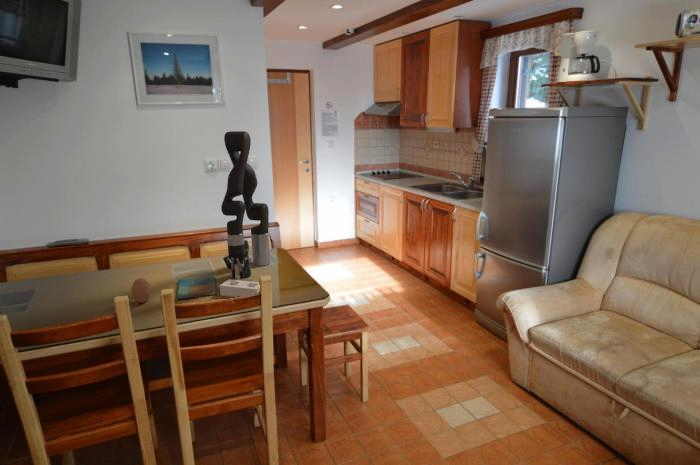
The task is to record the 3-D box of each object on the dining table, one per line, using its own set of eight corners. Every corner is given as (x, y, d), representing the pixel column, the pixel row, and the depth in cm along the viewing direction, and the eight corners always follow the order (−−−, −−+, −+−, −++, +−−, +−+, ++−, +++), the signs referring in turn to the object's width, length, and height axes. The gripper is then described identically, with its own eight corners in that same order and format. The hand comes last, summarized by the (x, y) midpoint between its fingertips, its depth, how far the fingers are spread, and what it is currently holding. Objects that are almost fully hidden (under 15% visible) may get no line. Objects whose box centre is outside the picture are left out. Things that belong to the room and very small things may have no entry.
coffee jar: (251, 273, 221) (249, 238, 217) (250, 278, 214) (248, 242, 209) (232, 274, 220) (229, 239, 215) (230, 279, 212) (227, 243, 207)
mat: (234, 279, 212) (234, 278, 212) (253, 281, 210) (253, 280, 210) (224, 287, 203) (223, 286, 203) (243, 289, 200) (243, 288, 200)
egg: (130, 302, 186) (127, 278, 184) (148, 297, 191) (145, 274, 189) (136, 307, 181) (133, 283, 178) (155, 302, 186) (152, 278, 183)
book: (215, 279, 214) (215, 274, 214) (217, 297, 193) (217, 291, 192) (178, 283, 209) (177, 278, 208) (176, 302, 187) (175, 296, 187)
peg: (237, 282, 208) (236, 262, 205) (243, 282, 207) (241, 262, 205) (234, 284, 205) (233, 264, 203) (240, 284, 204) (238, 264, 202)
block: (229, 289, 200) (228, 279, 199) (265, 293, 196) (265, 282, 194) (220, 296, 192) (219, 285, 191) (257, 300, 188) (257, 289, 187)
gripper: (253, 241, 203) (255, 276, 207) (226, 239, 206) (229, 273, 211) (245, 246, 196) (248, 281, 200) (218, 244, 199) (221, 279, 204)
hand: (238, 277), depth 205 cm, fingers closed on peg, 3 cm apart
